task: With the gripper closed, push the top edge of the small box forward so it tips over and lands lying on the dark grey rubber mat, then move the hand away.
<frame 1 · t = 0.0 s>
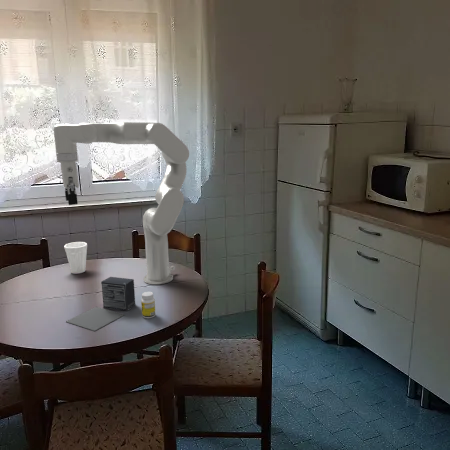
hand: (71, 202, 170), 37 cm above the table, tool pointing down, fingers open, 9 cm apart
cup: (78, 272, 203), on the table
supplement bottle: (148, 316, 157), on the table
mat: (95, 318, 156), on the table
small box: (119, 306, 166), on the table
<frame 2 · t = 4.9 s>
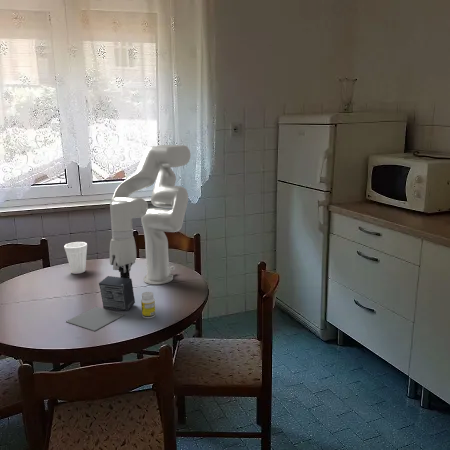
hand: (125, 281, 166), 9 cm above the table, tool pointing down, fingers closed
small box: (119, 305, 165), on the table, touching gripper
everything else where it was.
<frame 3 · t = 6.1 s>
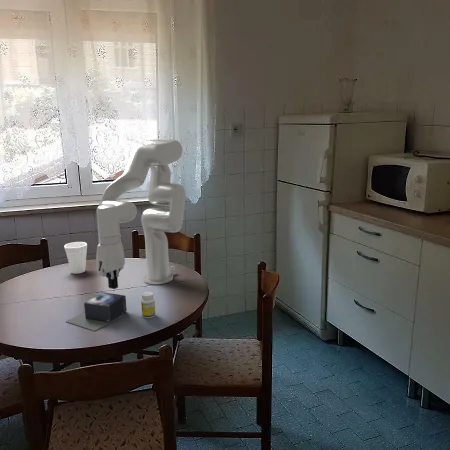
hand: (113, 287, 161), 8 cm above the table, tool pointing down, fingers closed
small box: (114, 300, 162), point 4 cm above the table, touching mat
everything else where it was.
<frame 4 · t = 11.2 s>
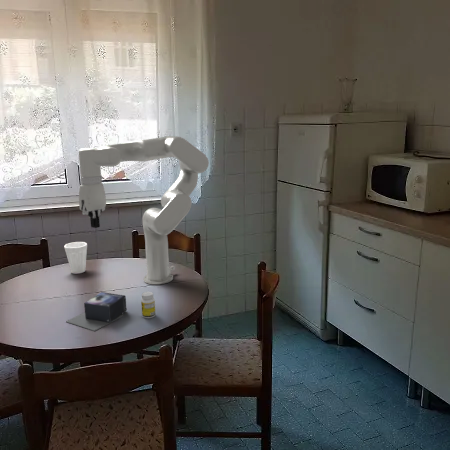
hand: (95, 227, 173), 27 cm above the table, tool pointing down, fingers closed
nothing on the table moved.
at the end: small box tilted 91°; small box inside the target area (8.0 cm from its centre), point 3.5 cm above the table; small box touching mat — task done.
